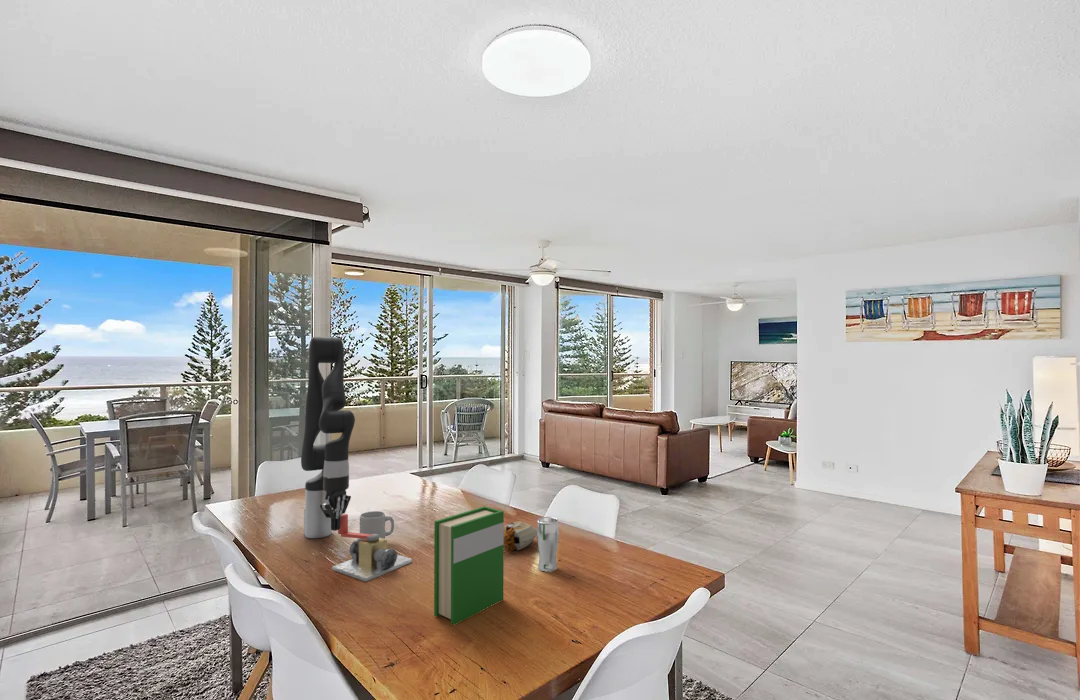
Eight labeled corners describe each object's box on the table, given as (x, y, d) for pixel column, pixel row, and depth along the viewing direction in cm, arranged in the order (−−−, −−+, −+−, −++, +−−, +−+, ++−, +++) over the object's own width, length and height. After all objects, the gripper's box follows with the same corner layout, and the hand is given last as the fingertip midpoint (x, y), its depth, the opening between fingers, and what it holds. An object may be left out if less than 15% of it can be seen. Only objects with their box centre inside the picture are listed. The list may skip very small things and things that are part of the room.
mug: (364, 552, 177) (364, 519, 177) (356, 545, 184) (356, 513, 184) (398, 544, 184) (398, 513, 184) (389, 538, 191) (389, 508, 191)
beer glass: (561, 565, 166) (561, 518, 166) (555, 574, 159) (554, 524, 159) (540, 562, 168) (540, 515, 168) (533, 571, 161) (533, 522, 161)
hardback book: (453, 625, 128) (453, 527, 129) (434, 615, 133) (434, 521, 134) (503, 600, 142) (503, 511, 142) (484, 592, 147) (484, 506, 147)
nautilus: (509, 563, 168) (475, 555, 177) (547, 541, 186) (515, 534, 195) (507, 539, 168) (473, 532, 177) (546, 518, 186) (513, 513, 195)
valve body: (332, 569, 162) (332, 543, 162) (379, 551, 177) (379, 528, 177) (365, 581, 153) (365, 554, 154) (412, 562, 168) (412, 537, 169)
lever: (381, 538, 167) (381, 516, 167) (374, 541, 163) (375, 520, 163) (342, 534, 170) (342, 513, 171) (335, 537, 167) (335, 516, 167)
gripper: (338, 469, 172) (338, 523, 172) (312, 477, 160) (311, 535, 159) (358, 470, 171) (358, 524, 170) (333, 478, 158) (332, 537, 157)
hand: (335, 529), depth 164 cm, fingers closed
